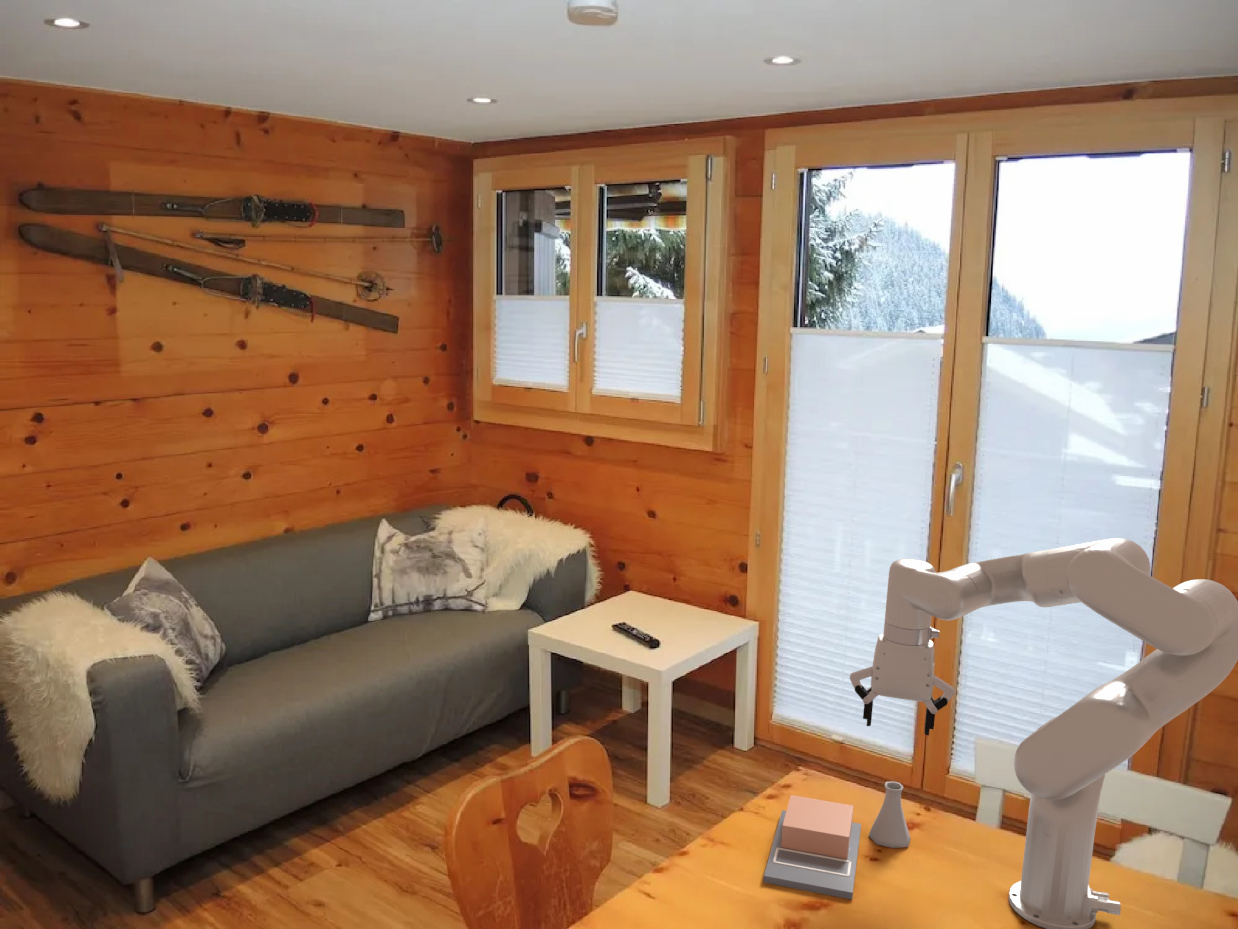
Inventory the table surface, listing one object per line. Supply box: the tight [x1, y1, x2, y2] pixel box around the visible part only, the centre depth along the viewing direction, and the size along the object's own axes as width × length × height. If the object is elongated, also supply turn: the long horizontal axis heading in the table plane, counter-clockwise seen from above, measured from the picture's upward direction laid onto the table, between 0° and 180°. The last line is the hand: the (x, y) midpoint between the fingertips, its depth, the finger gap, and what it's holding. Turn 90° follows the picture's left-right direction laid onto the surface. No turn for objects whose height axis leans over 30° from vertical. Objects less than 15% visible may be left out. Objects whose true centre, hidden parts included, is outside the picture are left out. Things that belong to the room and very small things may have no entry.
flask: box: [868, 781, 911, 849], centre depth 177 cm, size 7×7×10 cm
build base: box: [763, 794, 862, 900], centre depth 172 cm, size 14×22×5 cm, turn 163°
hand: (897, 727), depth 174 cm, fingers open, 9 cm apart
